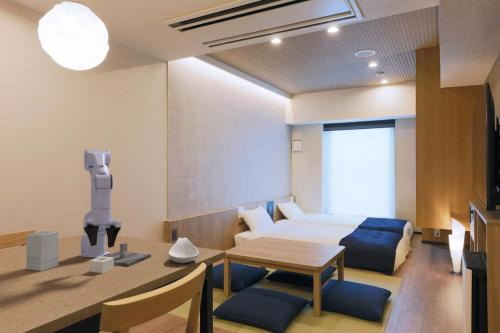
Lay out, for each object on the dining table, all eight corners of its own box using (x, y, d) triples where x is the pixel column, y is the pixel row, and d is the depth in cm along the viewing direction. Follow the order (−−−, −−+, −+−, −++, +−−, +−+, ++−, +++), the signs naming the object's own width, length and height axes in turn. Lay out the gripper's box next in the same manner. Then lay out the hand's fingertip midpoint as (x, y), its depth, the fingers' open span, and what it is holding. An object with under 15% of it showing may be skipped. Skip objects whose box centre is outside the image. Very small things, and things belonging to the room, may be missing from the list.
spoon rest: (200, 265, 125) (200, 246, 125) (168, 267, 122) (168, 247, 122) (194, 250, 148) (194, 234, 148) (167, 251, 145) (167, 235, 145)
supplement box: (59, 265, 123) (59, 231, 123) (40, 271, 116) (40, 235, 116) (44, 263, 125) (44, 230, 126) (25, 269, 118) (25, 234, 119)
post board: (94, 262, 127) (94, 245, 127) (118, 253, 141) (118, 238, 141) (129, 266, 123) (129, 248, 123) (151, 256, 136) (151, 240, 136)
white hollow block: (90, 271, 116) (90, 260, 116) (101, 267, 121) (101, 256, 121) (102, 273, 114) (102, 261, 114) (113, 268, 119) (113, 257, 120)
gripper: (77, 208, 116) (77, 247, 116) (111, 210, 112) (111, 250, 112) (92, 206, 123) (92, 243, 123) (125, 207, 119) (125, 245, 118)
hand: (102, 246), depth 118 cm, fingers open, 7 cm apart
